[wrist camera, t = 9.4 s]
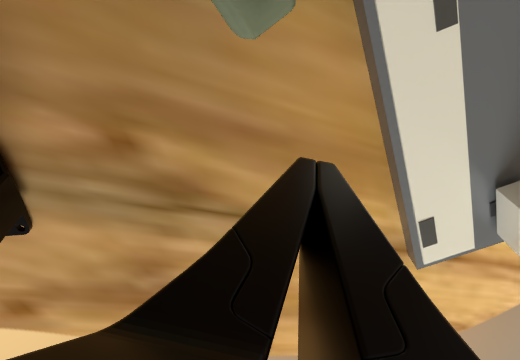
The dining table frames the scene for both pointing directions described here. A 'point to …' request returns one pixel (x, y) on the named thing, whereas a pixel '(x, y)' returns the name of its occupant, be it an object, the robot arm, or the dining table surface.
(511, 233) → the lever
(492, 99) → the switch bank
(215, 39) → the dining table surface
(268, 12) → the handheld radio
